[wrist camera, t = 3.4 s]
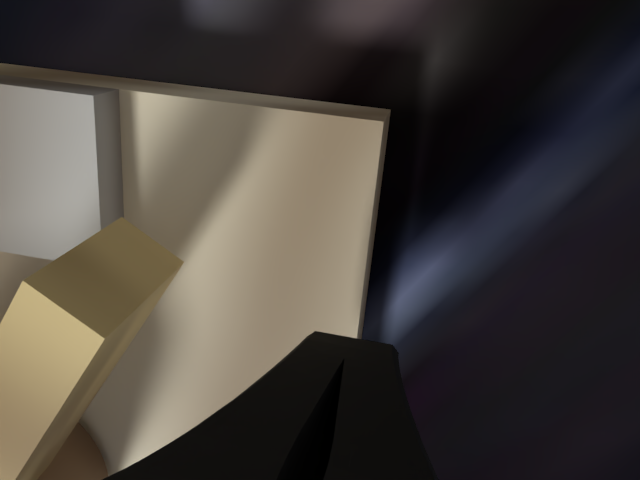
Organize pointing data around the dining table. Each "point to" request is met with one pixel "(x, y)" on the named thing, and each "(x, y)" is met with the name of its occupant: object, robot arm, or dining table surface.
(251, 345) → the tuner board
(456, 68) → the dining table surface
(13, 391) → the knob
